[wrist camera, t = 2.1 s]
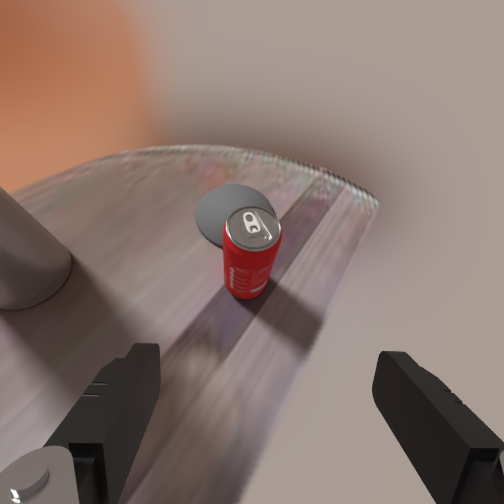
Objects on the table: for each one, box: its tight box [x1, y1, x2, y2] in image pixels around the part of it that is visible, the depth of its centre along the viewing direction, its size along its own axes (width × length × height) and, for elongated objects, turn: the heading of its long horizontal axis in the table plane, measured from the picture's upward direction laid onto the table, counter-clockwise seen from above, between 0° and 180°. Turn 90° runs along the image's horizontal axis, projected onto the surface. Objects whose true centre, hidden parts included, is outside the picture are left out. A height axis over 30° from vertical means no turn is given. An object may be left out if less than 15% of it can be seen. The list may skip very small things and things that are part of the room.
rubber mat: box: [196, 184, 273, 247], centre depth 37 cm, size 11×11×1 cm
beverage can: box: [223, 206, 282, 299], centre depth 27 cm, size 5×5×12 cm
